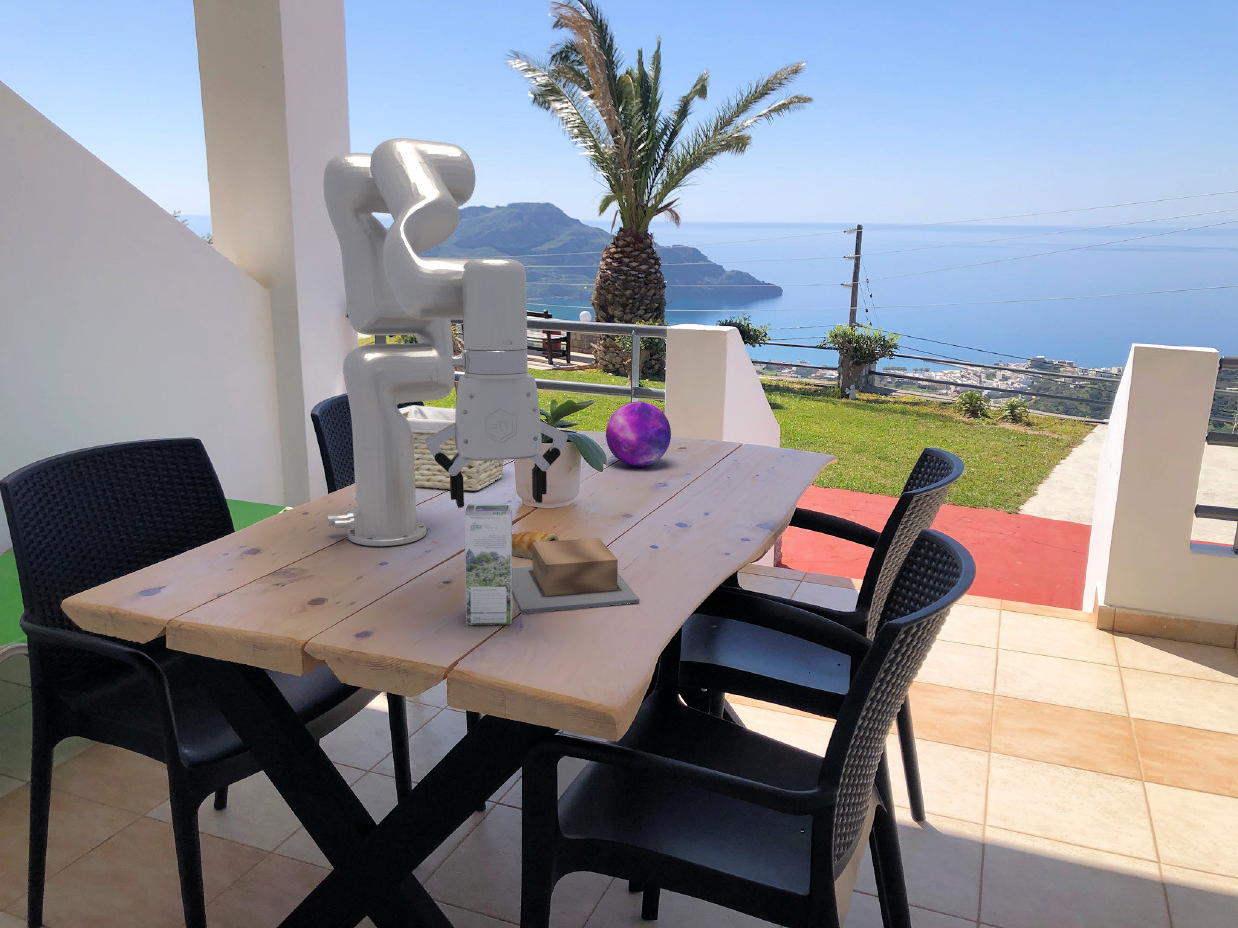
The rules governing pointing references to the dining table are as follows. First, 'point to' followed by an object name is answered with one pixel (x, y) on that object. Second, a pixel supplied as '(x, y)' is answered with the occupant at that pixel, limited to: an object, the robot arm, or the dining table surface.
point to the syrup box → (488, 564)
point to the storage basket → (444, 451)
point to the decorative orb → (638, 434)
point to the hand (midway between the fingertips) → (499, 502)
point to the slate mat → (533, 601)
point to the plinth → (573, 567)
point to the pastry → (529, 542)
